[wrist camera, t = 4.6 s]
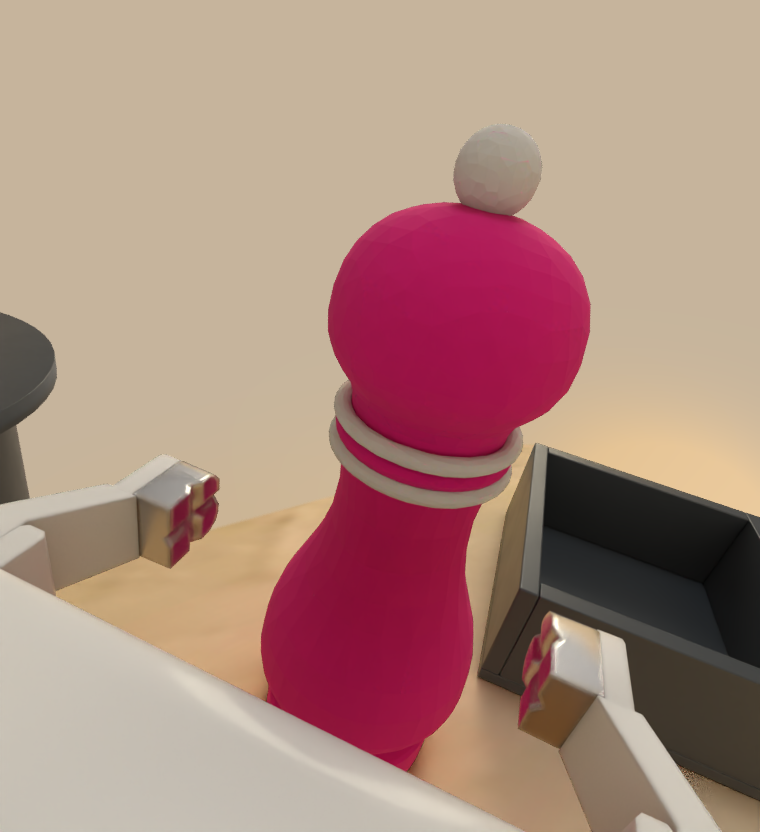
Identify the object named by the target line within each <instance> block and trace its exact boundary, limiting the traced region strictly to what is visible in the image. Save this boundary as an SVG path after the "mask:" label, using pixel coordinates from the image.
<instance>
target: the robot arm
mask: <svg viewBox="0 0 760 832" xmlns="http://www.w3.org/2000/svg"><path fill="white" fill-rule="evenodd" d="M218 490H219V478H218V477H217V476H216V475H214V474H212V473H209V472H207V471H205V470H203V469H200V468H198V467H196V466H193V465H191V464H189V463H186V462H184V461H181V460H178V459H176V458H174V457H172V456H169V455H167V454H163V455H159V456H157V457H156V458H154V459H153V460H151V461H150V462H148V463H147V464H145V465H144V466H142V467H141V468H139V469H137V470H136V471H134V472H133V473H131V474H130V475H128V476H127V477H125V478H124V479H122V480H121V481H119V482H118V483H116V484H115V485H113V486H112V485H109V484H103V485H98V486H93V487H88V488H83V489H77V490H73V491H67V492H63V493H57V494H52V495H47V496H41V497H36V498H31V499H26V500H21V501H16V502H10V503H5V504H0V832H526V831H524V830H522V829H520V828H518V827H516V826H514V825H512V824H510V823H508V822H506V821H504V820H502V819H500V818H498V817H496V816H494V815H492V814H490V813H488V812H486V811H484V810H482V809H480V808H478V807H476V806H474V805H472V804H470V803H468V802H466V801H464V800H462V799H460V798H458V797H456V796H454V795H452V794H450V793H448V792H446V791H444V790H442V789H440V788H438V787H436V786H434V785H432V784H430V783H428V782H426V781H424V780H422V779H420V778H418V777H416V776H414V775H412V774H410V773H408V772H406V771H404V770H402V769H400V768H398V767H396V766H394V765H392V764H390V763H388V762H386V761H384V760H382V759H380V758H378V757H376V756H374V755H371V754H369V753H367V752H365V751H363V750H361V749H359V748H357V747H355V746H353V745H351V744H349V743H347V742H345V741H343V740H341V739H339V738H337V737H335V736H333V735H331V734H329V733H327V732H325V731H323V730H321V729H319V728H317V727H315V726H313V725H311V724H309V723H307V722H305V721H303V720H301V719H299V718H297V717H295V716H293V715H291V714H289V713H287V712H285V711H283V710H281V709H279V708H277V707H275V706H273V705H271V704H269V703H267V702H265V701H263V700H261V699H259V698H257V697H255V696H253V695H251V694H249V693H247V692H245V691H243V690H242V689H240V688H238V687H236V686H234V685H232V684H230V683H228V682H226V681H224V680H222V679H220V678H218V677H216V676H214V675H212V674H210V673H208V672H206V671H204V670H202V669H200V668H198V667H196V666H194V665H192V664H190V663H188V662H186V661H184V660H182V659H180V658H178V657H176V656H174V655H172V654H170V653H168V652H166V651H164V650H162V649H160V648H158V647H156V646H154V645H152V644H150V643H148V642H146V641H144V640H142V639H140V638H138V637H136V636H134V635H132V634H130V633H128V632H126V631H124V630H122V629H120V628H118V627H116V626H114V625H112V624H110V623H108V622H106V621H104V620H102V619H100V618H98V617H96V616H94V615H92V614H90V613H88V612H86V611H84V610H82V609H80V608H78V607H76V606H74V605H72V604H70V603H68V602H66V601H64V600H62V599H60V598H58V597H56V592H55V591H57V590H59V589H62V588H64V587H67V586H70V585H72V584H75V583H77V582H80V581H82V580H85V579H87V578H90V577H92V576H95V575H97V574H100V573H102V572H105V571H107V570H110V569H112V568H115V567H117V566H120V565H122V564H125V563H127V562H130V561H132V560H135V559H137V558H139V556H141V557H144V558H146V559H148V560H151V561H153V562H155V563H158V564H160V565H163V566H165V567H167V568H170V569H171V568H172V567H173V566H174V565H175V564H176V563H177V562H178V561H179V560H180V559H181V558H182V557H183V556H184V555H185V554H186V553H187V552H188V551H189V549H190V542H193V541H196V540H199V539H202V538H203V537H204V536H205V535H206V534H207V533H208V532H209V531H210V529H211V527H212V525H213V524H214V522H215V520H216V517H217V514H218V505H219V503H218V502H217V500H216V498H215V496H214V494H215V493H216V492H217V491H218ZM522 680H523V682H524V684H525V686H526V689H525V691H524V693H523V694H522V696H521V698H520V708H519V720H518V729H520V730H522V731H524V732H526V733H528V734H530V735H532V736H534V737H536V738H538V739H540V740H542V741H544V742H546V743H548V744H550V745H552V746H554V747H556V748H559V749H560V750H559V753H560V755H561V758H562V760H563V763H564V765H565V768H566V770H567V773H568V775H569V777H570V780H571V782H572V785H573V787H574V790H575V792H576V794H577V797H578V799H579V802H580V804H581V807H582V809H583V812H584V814H585V816H586V819H587V821H588V824H589V826H590V829H591V831H592V832H722V831H721V830H720V828H719V827H718V825H717V824H716V822H715V821H714V819H713V818H712V816H711V815H710V813H709V812H708V810H707V809H706V807H705V806H704V805H703V803H702V802H701V800H700V799H699V797H698V796H697V794H696V793H695V791H694V790H693V788H692V787H691V785H690V784H689V782H688V781H687V780H686V778H685V777H684V775H683V774H682V772H681V771H680V769H679V768H678V766H677V765H676V763H675V762H674V760H673V759H672V757H671V756H670V754H669V753H668V752H667V750H666V749H665V747H664V746H663V744H662V743H661V741H660V740H659V738H658V737H657V735H656V734H655V732H654V731H653V729H652V728H651V727H650V725H649V724H648V722H647V721H646V719H645V718H644V716H643V715H642V714H640V713H637V712H635V709H634V702H633V695H632V688H631V681H630V673H629V666H628V659H627V652H626V645H625V642H624V641H623V639H621V638H619V637H616V636H613V635H611V634H608V633H606V632H603V631H601V630H596V629H595V628H592V627H590V626H587V625H585V624H582V623H580V622H577V621H575V620H572V619H570V618H567V617H565V616H562V615H560V614H557V613H555V612H552V611H549V612H548V613H547V614H546V615H545V617H544V619H543V621H542V624H541V634H538V635H535V636H534V637H533V639H532V641H531V643H530V645H529V648H528V651H527V654H526V657H525V661H524V666H523V674H522Z"/></svg>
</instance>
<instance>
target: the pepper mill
mask: <svg viewBox="0 0 760 832" xmlns="http://www.w3.org/2000/svg"><path fill="white" fill-rule="evenodd" d="M541 171H542V161H541V156H540V152H539V149H538V146H537V145H536V143H535V141H534V140H533V139H532V137H531V136H530V135H529V134H528V133H527V132H525V131H524V130H522V129H521V128H518V127H515V126H511V125H506V124H497V125H491V126H488V127H485V128H482V129H481V130H479V131H478V132H476V133H475V134H474V135H473V136H472V137H471V138H470V139H469V140H468V141H467V142H466V143H465V145H464V146H463V147H462V149H461V150H460V153H459V155H458V157H457V160H456V163H455V168H454V185H455V190H456V193H457V196H458V198H459V200H460V202H461V203H447V202H443V203H432V204H423V205H419V206H414V207H410V208H407V209H404V210H401V211H398V212H395V213H392V214H391V215H389V216H387V217H386V218H384V219H382V220H381V221H379V222H377V223H376V224H374V225H373V226H372V227H371V228H370V229H369V230H368V231H366V232H365V233H364V234H363V235H362V236H361V237H360V238H359V239H358V240H357V241H356V243H355V244H354V246H353V247H352V248H351V250H350V252H349V253H348V254H347V256H346V257H345V259H344V261H343V263H342V266H341V268H340V271H339V273H338V275H337V278H336V280H335V283H334V286H333V290H332V295H331V299H330V304H329V309H328V332H329V337H330V341H331V344H332V347H333V351H334V354H335V356H336V358H337V360H338V362H339V364H340V366H341V368H342V370H343V371H344V373H345V374H346V376H347V377H348V379H349V380H347V381H346V382H345V383H344V384H343V385H342V386H341V387H340V388H339V390H338V391H337V394H336V396H335V402H334V409H335V414H336V415H335V417H334V419H333V420H332V422H331V425H330V429H329V440H330V445H331V448H332V450H333V452H334V454H335V456H336V457H337V459H338V460H339V461H340V463H341V471H340V479H339V482H338V486H337V490H336V493H335V497H334V500H333V503H332V505H331V507H330V509H329V511H328V512H327V514H326V516H325V518H324V519H323V521H322V522H321V524H320V525H319V526H318V528H317V529H316V530H315V531H314V532H313V534H312V535H311V536H310V537H309V538H308V540H307V541H306V542H305V543H304V544H303V545H302V547H301V548H300V549H299V550H298V551H297V553H296V554H295V555H294V556H293V558H292V559H291V560H290V562H289V563H288V565H287V566H286V568H285V570H284V572H283V573H282V575H281V577H280V579H279V581H278V582H277V584H276V586H275V588H274V590H273V593H272V596H271V599H270V601H269V604H268V608H267V612H266V616H265V620H264V624H263V629H262V634H261V655H262V661H263V668H264V673H265V676H266V679H267V682H268V685H269V687H268V694H267V703H269V704H271V705H273V706H275V707H277V708H279V709H281V710H283V711H285V712H287V713H289V714H291V715H293V716H295V717H297V718H299V719H301V720H303V721H305V722H307V723H309V724H311V725H313V726H315V727H317V728H319V729H321V730H323V731H325V732H327V733H329V734H331V735H333V736H335V737H337V738H339V739H341V740H343V741H345V742H347V743H349V744H351V745H353V746H355V747H357V748H359V749H361V750H363V751H365V752H367V753H369V754H371V755H374V756H376V757H378V758H380V759H382V760H384V761H386V762H388V763H390V764H392V765H394V766H396V767H398V768H400V769H402V770H404V771H407V770H408V769H409V768H410V767H411V765H412V764H413V762H414V761H415V759H416V757H417V755H418V753H419V751H420V748H421V746H422V744H423V742H424V739H425V738H427V737H428V736H430V735H431V734H433V733H434V732H435V731H436V730H437V729H438V728H439V727H440V726H441V725H442V724H443V723H444V722H445V721H446V720H447V718H448V717H449V716H450V714H451V713H452V712H453V710H454V708H455V706H456V705H457V703H458V701H459V699H460V697H461V694H462V691H463V688H464V685H465V682H466V679H467V676H468V673H469V669H470V664H471V660H472V655H473V617H472V611H471V606H470V600H469V595H468V590H467V584H466V577H465V564H466V550H467V545H468V541H469V537H470V533H471V529H472V525H473V521H474V519H475V517H476V515H477V513H478V511H479V509H480V507H481V505H482V504H483V503H485V502H487V501H489V500H491V499H493V498H495V497H497V496H498V495H499V494H500V493H501V492H503V490H504V489H505V488H506V486H507V485H508V483H509V481H510V478H511V475H512V466H511V464H513V463H514V462H515V461H516V459H517V458H518V456H519V455H520V453H521V452H522V447H523V435H522V432H521V429H520V427H519V426H521V425H524V424H526V423H528V422H530V421H532V420H534V419H536V418H538V417H540V416H542V415H543V414H544V413H546V412H548V411H549V410H550V409H551V408H552V407H553V406H554V405H555V404H556V403H557V402H558V401H559V400H560V399H561V398H562V397H563V396H564V395H565V394H566V393H567V392H568V390H569V388H570V386H571V384H572V382H573V380H574V379H575V376H576V375H577V373H578V370H579V368H580V366H581V363H582V359H583V356H584V352H585V348H586V345H587V340H588V337H589V333H590V301H589V297H588V293H587V290H586V286H585V282H584V279H583V276H582V274H581V272H580V271H579V269H578V268H577V266H576V264H575V262H574V261H573V259H572V258H571V256H570V255H569V254H568V253H567V252H566V251H565V250H564V249H563V248H562V247H561V246H560V245H559V244H558V243H557V242H556V241H555V240H554V239H553V238H551V237H550V236H549V235H547V234H546V233H545V232H543V231H542V230H541V229H539V228H537V227H536V226H534V225H532V224H530V223H528V222H526V221H524V220H522V219H520V218H517V217H515V216H512V215H514V214H515V213H517V212H519V211H520V210H521V209H522V208H524V207H525V206H526V205H527V203H528V202H529V201H530V200H531V199H532V197H533V195H534V193H535V191H536V189H537V187H538V184H539V182H540V180H541Z"/></svg>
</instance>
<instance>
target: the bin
mask: <svg viewBox="0 0 760 832" xmlns="http://www.w3.org/2000/svg"><path fill="white" fill-rule="evenodd" d="M549 611H552V612H555V613H557V614H560V615H562V616H565V617H567V618H570V619H572V620H575V621H577V622H580V623H582V624H585V625H587V626H590V627H592V628H595V629H596V630H601V631H603V632H606V633H608V634H611V635H613V636H616V637H619V638H621V639H623V641H624V642H625V645H626V652H627V659H628V666H629V673H630V681H631V688H632V695H633V702H634V709H635V712H637V713H640V714H642V715H643V716H644V718H645V719H646V721H647V722H648V724H649V725H650V727H651V728H652V729H653V731H654V732H655V734H656V735H657V737H658V738H659V740H660V741H661V743H662V744H663V746H664V747H665V749H666V750H667V752H668V753H669V754H670V756H671V757H672V759H673V760H674V762H675V763H676V764H678V765H680V766H682V767H684V768H687V769H689V770H691V771H693V772H696V773H698V774H700V775H702V776H705V777H707V778H709V779H712V780H714V781H716V782H718V783H721V784H723V785H725V786H727V787H730V788H732V789H734V790H737V791H739V792H741V793H743V794H746V795H748V796H750V797H752V798H755V799H757V800H759V801H760V517H757V516H754V515H751V514H748V513H744V512H742V511H739V510H736V509H733V508H730V507H727V506H724V505H721V504H718V503H715V502H712V501H709V500H706V499H703V498H700V497H697V496H694V495H691V494H688V493H685V492H682V491H679V490H676V489H673V488H670V487H667V486H664V485H661V484H658V483H655V482H652V481H649V480H646V479H643V478H640V477H637V476H634V475H631V474H628V473H625V472H622V471H619V470H616V469H613V468H610V467H607V466H604V465H602V464H599V463H595V462H593V461H590V460H586V459H583V458H580V457H578V456H574V455H571V454H569V453H566V452H563V451H559V450H556V449H554V448H551V447H549V448H548V447H547V446H545V445H542V444H539V443H535V445H534V447H533V450H532V452H531V455H530V457H529V459H528V462H527V464H526V467H525V469H524V471H523V474H522V476H521V479H520V481H519V483H518V486H517V488H516V491H515V493H514V495H513V498H512V500H511V503H510V505H509V507H508V510H507V512H506V517H505V523H504V528H503V534H502V540H501V545H500V551H499V557H498V562H497V568H496V574H495V579H494V585H493V591H492V596H491V602H490V607H489V613H488V619H487V624H486V630H485V636H484V641H483V647H482V653H481V658H480V664H479V670H478V677H480V678H482V679H485V680H487V681H489V682H492V683H494V684H496V685H498V686H501V687H503V688H505V689H507V690H510V691H512V692H514V693H516V694H519V695H521V696H522V694H523V693H524V691H525V689H526V686H525V684H524V682H523V680H522V674H523V666H524V661H525V657H526V654H527V651H528V648H529V645H530V643H531V641H532V639H533V637H534V636H535V635H538V634H541V624H542V621H543V619H544V617H545V615H546V614H547V613H548V612H549Z"/></svg>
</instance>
